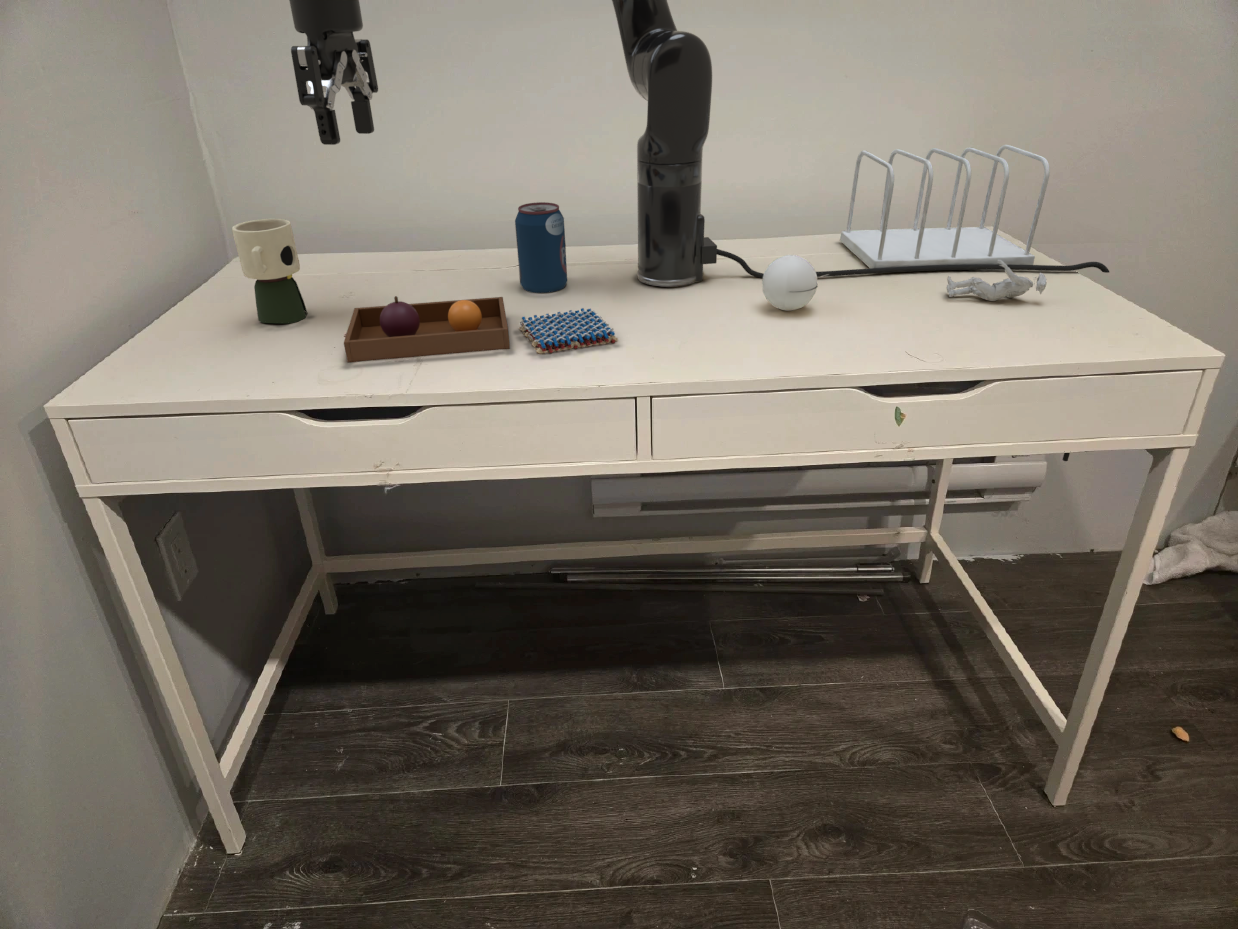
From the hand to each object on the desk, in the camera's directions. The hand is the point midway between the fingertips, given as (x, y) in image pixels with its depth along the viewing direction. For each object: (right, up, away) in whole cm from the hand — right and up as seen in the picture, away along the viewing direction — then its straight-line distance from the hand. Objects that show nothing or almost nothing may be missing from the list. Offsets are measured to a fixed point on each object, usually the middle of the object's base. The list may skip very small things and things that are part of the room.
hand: (349, 138), depth 99 cm
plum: (+6, -24, +3) cm, 25 cm away
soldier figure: (+84, -17, +13) cm, 87 cm away
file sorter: (+83, -6, +32) cm, 90 cm away
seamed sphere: (+57, -19, +12) cm, 61 cm away
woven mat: (+26, -24, +4) cm, 36 cm away
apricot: (+13, -23, +5) cm, 27 cm away
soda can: (+22, -14, +21) cm, 33 cm away
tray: (+9, -24, +4) cm, 26 cm away
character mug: (-13, -20, +12) cm, 27 cm away
